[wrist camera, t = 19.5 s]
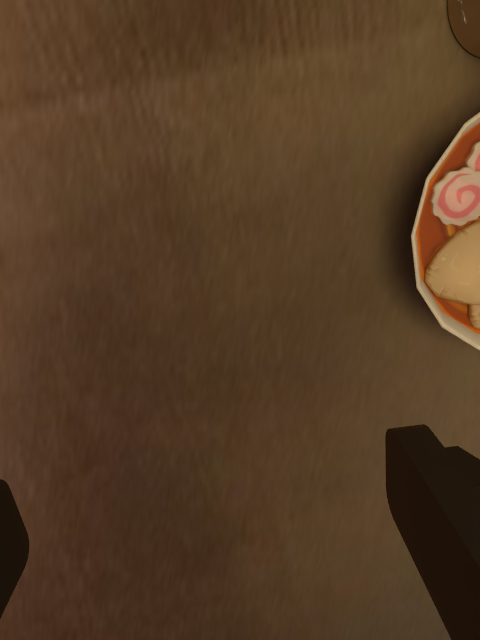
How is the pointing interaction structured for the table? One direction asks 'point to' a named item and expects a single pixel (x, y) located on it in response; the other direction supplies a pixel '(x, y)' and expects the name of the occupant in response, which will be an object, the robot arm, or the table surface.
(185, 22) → the table surface
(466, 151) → the ramen bowl
